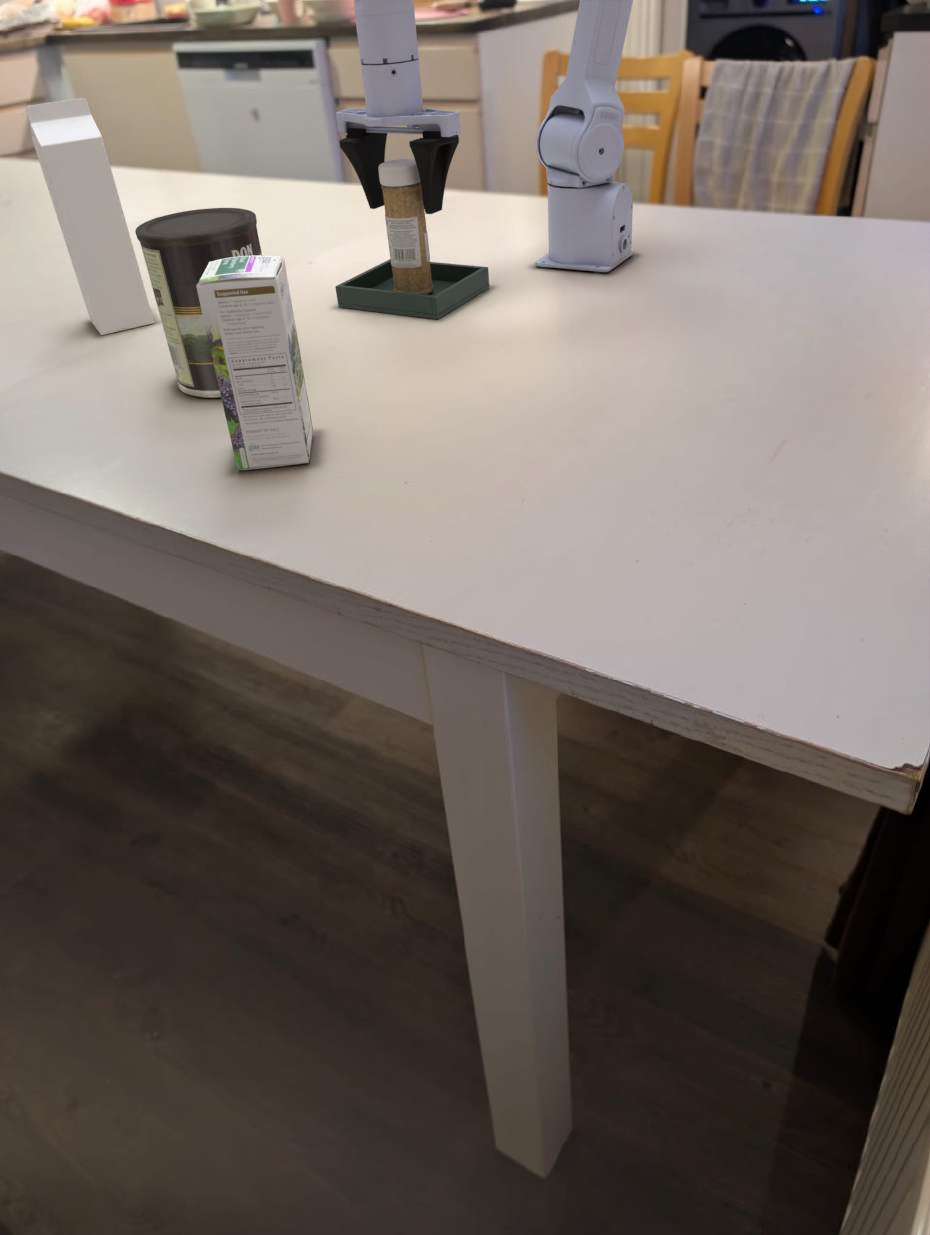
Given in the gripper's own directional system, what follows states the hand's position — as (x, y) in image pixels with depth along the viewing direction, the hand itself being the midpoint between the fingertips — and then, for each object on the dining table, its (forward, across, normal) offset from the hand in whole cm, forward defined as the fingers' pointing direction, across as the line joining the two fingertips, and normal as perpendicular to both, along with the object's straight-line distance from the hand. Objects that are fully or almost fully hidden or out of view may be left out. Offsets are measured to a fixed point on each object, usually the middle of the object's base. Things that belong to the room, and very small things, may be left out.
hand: (405, 209), depth 97 cm
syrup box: (+10, +14, -36) cm, 40 cm away
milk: (+10, -26, -20) cm, 35 cm away
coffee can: (+10, -2, -26) cm, 28 cm away
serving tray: (+9, 0, 0) cm, 9 cm away
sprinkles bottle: (+9, 0, 0) cm, 9 cm away
